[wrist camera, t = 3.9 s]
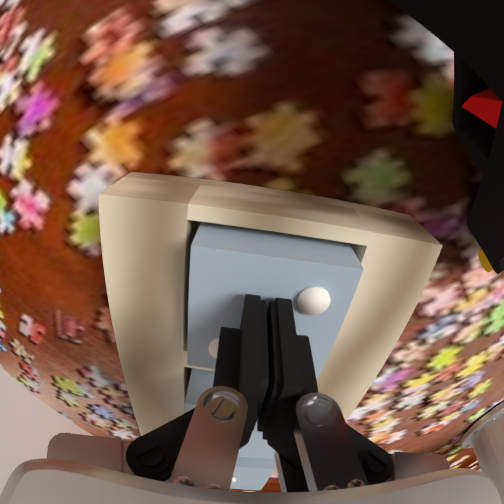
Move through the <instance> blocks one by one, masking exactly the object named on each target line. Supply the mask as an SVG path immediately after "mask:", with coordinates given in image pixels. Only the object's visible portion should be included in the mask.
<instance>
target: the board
mask: <svg viewBox="0 0 504 504" xmlns="http://www.w3.org/2000/svg"><path fill="white" fill-rule="evenodd" d="M98 203H99V221H100V235H101V246H102V256H103V265H104V274H105V281H106V289H107V295H108V302H109V308H110V314H111V319H112V325H113V330H114V335H115V340H116V345H117V350H118V354H119V359H120V363H121V367H122V371H123V375H124V379H125V383H126V387H127V391H128V394H129V398H130V401H131V405H132V408H133V412H134V415H135V418H136V421H137V425H138V428H139V431H140V434H141V436H143V435H145V434H147V433H149V432H151V431H153V430H154V429H156V428H158V427H160V426H162V425H164V424H166V423H168V422H170V421H171V420H173V419H175V418H177V417H179V416H181V415H182V414H184V413H185V401H186V396H187V391H188V386H189V381H190V376H191V371H192V368H195V369H202V370H209V371H215V369H211V368H204V367H198V366H191V365H187V355H188V300H189V274H190V254H191V244H192V242H193V240H194V237H195V235H196V233H197V230H198V228H199V226H200V224H201V222H209V223H216V224H224V225H231V226H238V227H246V228H253V229H260V230H267V231H274V232H281V233H287V234H294V235H301V236H307V237H314V238H320V239H327V240H333V241H340V242H346V243H349V244H350V246H351V247H352V249H353V251H354V253H355V254H356V256H357V258H358V260H359V262H360V263H361V265H362V267H363V269H364V270H363V272H362V275H361V278H360V281H359V283H358V286H357V289H356V291H355V294H354V296H353V299H352V302H351V304H350V307H349V309H348V312H347V314H346V317H345V319H344V321H343V324H342V326H341V329H340V331H339V333H338V336H337V338H336V340H335V343H334V345H333V347H332V349H331V352H330V354H329V356H328V358H327V360H326V363H325V365H324V367H323V369H322V371H321V373H320V375H319V377H318V378H316V380H317V386H318V392H319V393H322V394H325V395H328V396H329V397H331V398H333V399H334V400H335V401H336V402H337V403H338V405H339V407H340V409H341V411H342V414H343V417H344V419H345V421H346V420H347V418H348V417H349V416H350V414H351V413H352V412H353V410H354V409H355V407H356V406H357V404H358V403H359V402H360V400H361V399H362V397H363V396H364V394H365V393H366V391H367V390H368V388H369V387H370V385H371V384H372V382H373V381H374V379H375V378H376V376H377V374H378V373H379V371H380V370H381V368H382V366H383V365H384V363H385V361H386V360H387V358H388V356H389V355H390V353H391V351H392V350H393V348H394V346H395V344H396V343H397V341H398V339H399V337H400V335H401V334H402V332H403V330H404V328H405V326H406V324H407V322H408V320H409V319H410V317H411V315H412V313H413V311H414V309H415V307H416V305H417V303H418V301H419V299H420V297H421V294H422V292H423V290H424V288H425V286H426V284H427V282H428V279H429V277H430V275H431V273H432V270H433V268H434V266H435V263H436V261H437V259H438V256H439V254H440V251H441V249H442V245H441V244H440V243H439V242H438V241H437V240H436V239H435V238H434V237H433V236H432V235H431V234H430V233H429V232H428V231H427V230H426V229H425V228H424V227H422V226H421V225H420V224H419V223H418V222H417V221H416V220H415V219H414V218H413V217H411V216H410V215H408V214H403V213H399V212H394V211H390V210H385V209H381V208H376V207H372V206H367V205H362V204H357V203H352V202H347V201H342V200H337V199H331V198H326V197H320V196H315V195H309V194H303V193H298V192H292V191H285V190H279V189H273V188H266V187H260V186H253V185H246V184H239V183H231V182H224V181H216V180H208V179H199V178H190V177H181V176H171V175H161V174H150V173H138V172H131V173H129V174H128V175H126V176H125V177H123V178H122V179H120V180H119V181H117V182H116V183H114V184H113V185H111V186H110V187H108V188H107V189H105V190H104V191H102V192H101V193H99V194H98ZM271 475H278V472H277V467H276V462H275V470H274V471H273V473H272V474H271Z"/></svg>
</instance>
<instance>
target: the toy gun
mask: <svg viewBox="0 0 504 504" xmlns="http://www.w3.org/2000/svg"><path fill="white" fill-rule="evenodd" d="M387 1H389V2H390V3H392V4H393V5H395V6H396V7H398V8H399V9H401V10H402V11H404V12H405V13H406V14H408V15H409V16H411V17H412V18H413V19H415V20H416V21H417V22H419V23H420V24H421V25H423V26H424V27H425V28H426V29H428V30H429V31H430V32H431V33H433V34H434V35H435V36H436V37H438V38H439V39H440V40H441V41H442V42H443V43H445V44H446V45H447V46H448V47H449V48H450V49H451V50H453V51H454V105H453V126H454V129H455V131H456V133H457V136H458V138H459V140H460V141H461V143H462V144H463V146H464V147H465V149H466V150H467V151H468V153H469V154H470V156H471V157H472V159H473V160H474V162H475V164H476V165H477V167H478V168H479V170H480V171H481V173H482V175H483V177H482V180H481V183H480V186H479V189H478V192H477V195H476V198H475V200H474V203H473V206H472V208H471V211H470V213H469V216H468V218H467V221H466V222H467V226H468V227H469V229H470V231H471V232H472V234H473V235H474V237H475V239H476V240H477V242H478V244H479V245H480V247H481V250H480V251H479V253H478V256H479V260H480V262H481V264H482V266H483V268H484V269H485V270H486V271H487V272H490V271H491V270H494V271H495V272H496V273H497V274H499V273H500V272H502V271H503V270H504V0H387Z"/></svg>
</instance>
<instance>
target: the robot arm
mask: <svg viewBox="0 0 504 504" xmlns="http://www.w3.org/2000/svg"><path fill="white" fill-rule="evenodd" d="M256 422H257V431H258V432H263V440H267V444H268V445H269V446H270V447H272V448H273V449H274V457H275V462H276V467H277V472H278V476H279V481H280V486H281V490H282V493H263V492H240V491H229V490H230V486H231V482H232V478H233V474H234V469H235V465H236V461H237V457H238V452H239V449H241V448H242V447H243V446H245V445H246V444H247V443H249V440H250V437H251V434H252V431H253V430H254V427H255V424H256ZM460 443H461V446H462V448H471V447H473V449H474V451H475V454H476V457H477V459H478V462H479V465H480V468H481V470H482V472H481V471H477V470H473V469H466V468H455V469H450V466H449V463H448V461H447V459H446V458H445V457H444V456H442V455H441V454H436V453H404V452H394V453H393V454H389V453H387V452H386V451H385V450H384V449H382V448H381V447H379V446H378V445H376V444H375V443H373V442H372V441H370V440H369V439H367V438H366V437H364V436H363V435H361V434H360V433H359V432H357V431H356V430H354V429H353V428H351V427H350V426H349V425H347V424H346V422H345V419H344V417H343V414H342V411H341V409H340V407H339V405H338V403H337V402H336V401H335V400H334V399H333V398H331V397H329V396H328V395H325V394H322V393H319V392H318V386H317V380H316V374H315V368H314V363H313V357H312V352H311V346H310V341H309V337H308V336H306V335H297V333H296V326H295V320H294V313H293V306H292V300H291V299H285V298H276V299H275V301H270V302H269V306H268V311H267V313H266V300H261V296H260V295H252V294H245V300H244V306H243V312H242V318H241V324H240V329H237V328H229V327H221V329H220V336H219V343H218V351H217V358H216V366H215V374H214V382H213V387H212V388H209V389H207V390H206V391H204V392H203V393H202V394H201V396H200V397H199V399H198V402H197V405H196V407H195V408H193V409H191V410H190V411H188V412H186V413H184V414H182V415H181V416H179V417H177V418H175V419H173V420H171V421H170V422H168V423H166V424H164V425H162V426H160V427H158V428H156V429H154V430H153V431H151V432H149V433H147V434H145V435H143V436H141V437H139V438H137V439H135V440H134V441H124V440H122V439H121V438H111V437H98V436H88V435H79V434H71V433H60V434H57V435H55V436H54V437H53V438H52V439H51V440H50V442H49V445H48V451H47V459H34V460H29V461H26V462H23V463H22V464H20V465H19V466H18V467H17V468H16V469H15V470H14V471H13V472H12V474H11V475H10V477H9V479H8V481H7V483H6V485H5V487H4V489H3V491H2V494H1V496H0V504H504V402H502V403H501V404H499V405H498V406H496V407H495V408H493V409H492V410H491V411H489V412H488V413H487V414H486V415H484V416H483V417H482V418H480V419H479V420H478V421H477V422H476V423H475V424H473V425H472V426H471V427H470V428H469V429H468V430H467V431H466V432H465V434H464V435H463V436H462V438H461V440H460Z"/></svg>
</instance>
